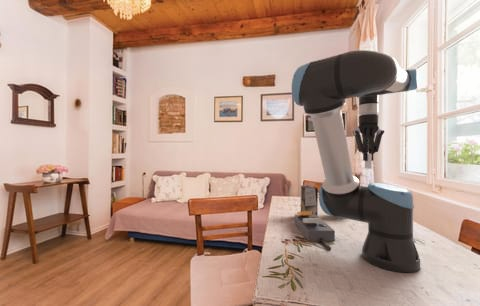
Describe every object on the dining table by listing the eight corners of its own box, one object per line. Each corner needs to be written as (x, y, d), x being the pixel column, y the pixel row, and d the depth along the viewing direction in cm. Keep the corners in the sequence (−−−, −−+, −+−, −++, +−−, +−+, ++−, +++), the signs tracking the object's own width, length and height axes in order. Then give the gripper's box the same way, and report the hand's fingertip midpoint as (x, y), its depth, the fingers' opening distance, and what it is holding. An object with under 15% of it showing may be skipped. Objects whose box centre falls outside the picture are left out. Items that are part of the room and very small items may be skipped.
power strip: (344, 250, 79) (344, 236, 79) (314, 250, 79) (314, 236, 79) (315, 223, 109) (315, 213, 109) (294, 222, 109) (294, 213, 109)
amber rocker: (312, 215, 99) (312, 211, 100) (301, 215, 99) (300, 211, 100) (308, 216, 106) (307, 212, 106) (297, 216, 106) (297, 212, 106)
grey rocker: (320, 223, 89) (320, 218, 90) (307, 222, 89) (307, 218, 90) (315, 222, 96) (314, 218, 96) (303, 222, 96) (302, 218, 96)
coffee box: (318, 220, 112) (318, 187, 112) (304, 220, 112) (304, 187, 112) (312, 215, 121) (312, 185, 121) (300, 215, 121) (300, 185, 121)
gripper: (378, 116, 105) (377, 167, 105) (349, 116, 105) (349, 167, 105) (388, 113, 97) (388, 169, 98) (357, 113, 97) (357, 169, 98)
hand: (368, 168), depth 101 cm, fingers closed
